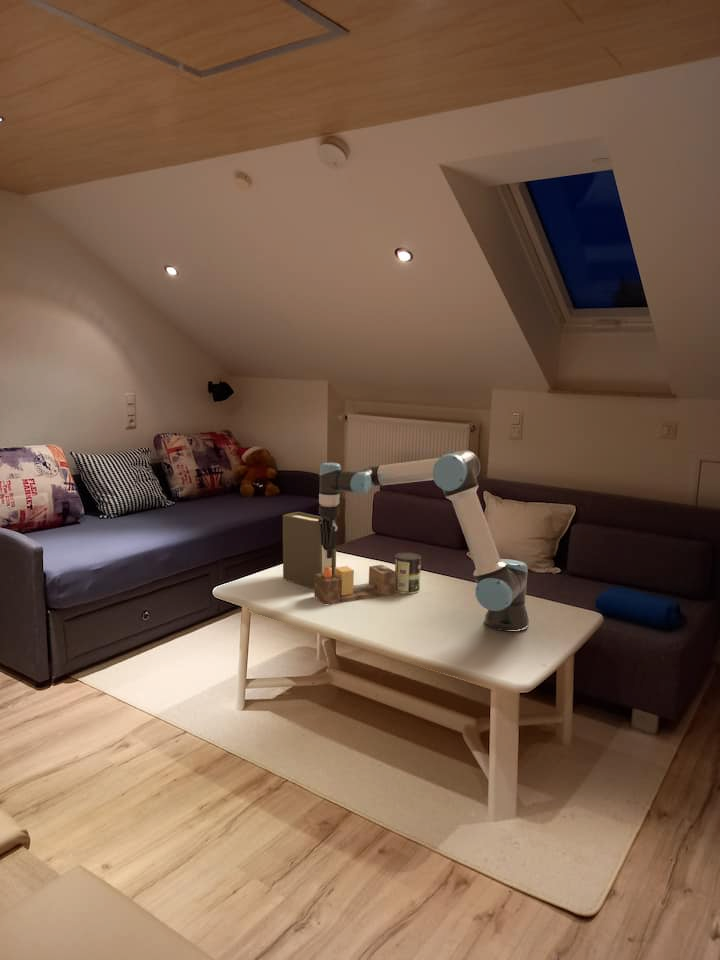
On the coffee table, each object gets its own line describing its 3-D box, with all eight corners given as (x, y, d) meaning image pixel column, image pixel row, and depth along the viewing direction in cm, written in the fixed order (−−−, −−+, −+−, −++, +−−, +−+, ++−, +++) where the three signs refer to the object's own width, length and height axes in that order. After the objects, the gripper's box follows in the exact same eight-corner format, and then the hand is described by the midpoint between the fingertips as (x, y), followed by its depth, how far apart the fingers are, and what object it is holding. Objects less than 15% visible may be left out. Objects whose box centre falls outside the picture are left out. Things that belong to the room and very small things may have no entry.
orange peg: (332, 583, 268) (333, 568, 267) (325, 584, 267) (325, 569, 265) (329, 581, 271) (329, 566, 269) (322, 582, 269) (322, 567, 268)
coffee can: (418, 586, 288) (420, 552, 286) (420, 594, 278) (422, 560, 276) (393, 585, 289) (394, 551, 286) (394, 593, 278) (395, 559, 276)
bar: (372, 587, 280) (372, 582, 280) (375, 589, 278) (375, 584, 278) (333, 593, 272) (334, 588, 272) (336, 595, 270) (336, 590, 270)
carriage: (345, 589, 277) (346, 565, 275) (353, 594, 271) (353, 570, 270) (334, 590, 274) (334, 567, 272) (341, 595, 269) (342, 572, 267)
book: (281, 580, 292) (281, 513, 288) (298, 575, 299) (297, 510, 295) (319, 591, 278) (319, 521, 274) (335, 586, 285) (336, 517, 281)
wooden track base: (381, 586, 287) (382, 563, 285) (394, 593, 278) (395, 570, 277) (314, 596, 273) (314, 572, 271) (325, 604, 264) (326, 580, 262)
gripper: (346, 507, 259) (344, 569, 264) (330, 500, 270) (328, 559, 275) (327, 509, 256) (326, 571, 260) (312, 501, 267) (311, 561, 271)
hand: (327, 565), depth 267 cm, fingers closed
